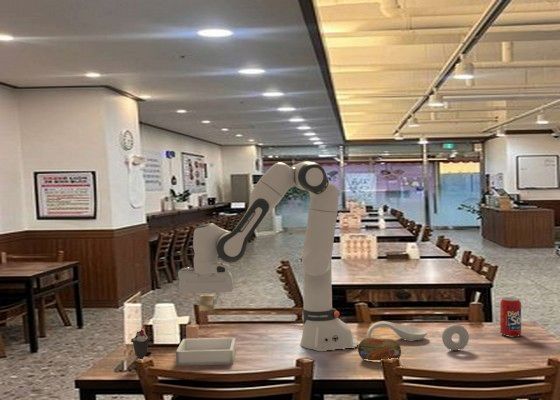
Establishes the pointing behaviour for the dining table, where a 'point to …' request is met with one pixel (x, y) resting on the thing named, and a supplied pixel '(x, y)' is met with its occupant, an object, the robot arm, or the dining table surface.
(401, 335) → the spoon rest
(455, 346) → the donut
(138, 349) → the sundae
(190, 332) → the reddish brown block
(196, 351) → the bus tub
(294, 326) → the dining table surface
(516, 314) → the soda can
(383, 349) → the tin
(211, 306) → the birch cube
